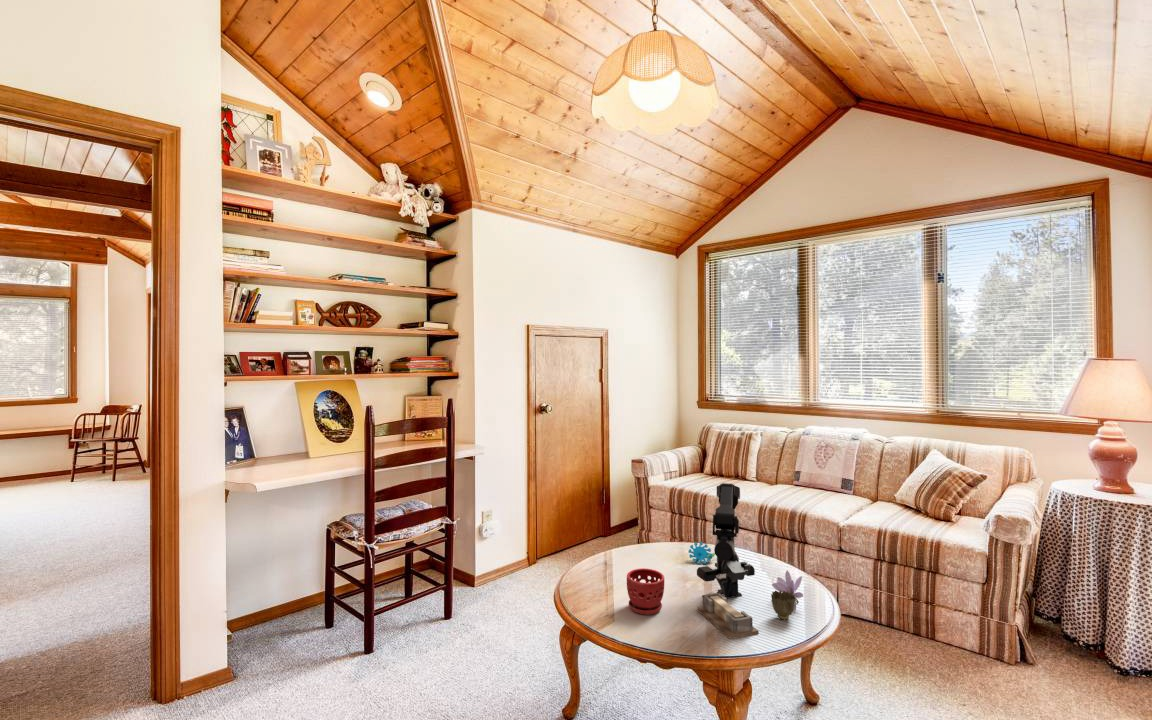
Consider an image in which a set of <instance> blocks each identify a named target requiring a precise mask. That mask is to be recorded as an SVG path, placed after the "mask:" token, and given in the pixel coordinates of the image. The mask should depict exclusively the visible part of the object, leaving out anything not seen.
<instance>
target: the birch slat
mask: <svg viewBox="0 0 1152 720" xmlns="http://www.w3.org/2000/svg"><path fill="white" fill-rule="evenodd" d="M710 599H711V600H712V601H713V611H714V612H715V613H716V614H717V615H719V616H720V617H721V618H722V619H723V620H725V621H726V614H727V613H729V614H730V615H731V616H733V617H734V618H735V619H738V618H744V615H742V614H741V611H738V609H736V608H734V607H733V606H732V605H731V604H729V603H728V601H727V602H725V601H724V600H723V599H721V598H720V597H719V596H712V597H710Z"/></svg>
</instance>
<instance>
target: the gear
mask: <svg viewBox="0 0 1152 720" xmlns="http://www.w3.org/2000/svg"><path fill="white" fill-rule="evenodd" d="M694 546H695V547H694ZM711 551H712V549H711V548H710V547H709V548H708V544H707V543H705V544H704V546H703V542H702V541H700V542H699V545H698V542H694V544H691V545H690V547H689V549H688V553H689V559H692V562H693V563H696V561H697V564H698V565H701V563H702V564H703V565H706V564H707V562H710V561H711V560H712V559H713V558H714V557H715V556H716V555H715V552H713V553H711Z"/></svg>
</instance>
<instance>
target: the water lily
mask: <svg viewBox="0 0 1152 720" xmlns="http://www.w3.org/2000/svg"><path fill="white" fill-rule="evenodd" d="M784 577H785V579H783V578H782V577H780V576H778V577H776V582H773V583H772V584H771V587H772V588H773V590H775V591H778V592H779V591H781V593H783V592H784V591H785V592H788V593H789V594H790V593H791V594H792V595H793V594H794V596H795V601H794V609H793V612H792V613H796V612H797V611H796V610H797V604H799V600H798V599H801V598H803V597H804V594H803V592H801V591H798V592H796V591H797V590H798V589H799V587H800V585H801V582H802V581H803V576H799V577H798V578H797V579H796V580H795V582H794V580H793V579H792V577H791V574H790V572H789V571H788V570H786V571H785V575H784ZM770 602H772V599H771V601H770Z"/></svg>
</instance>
